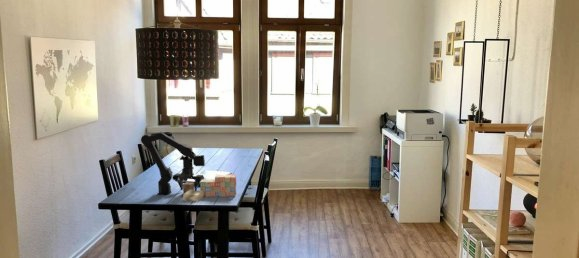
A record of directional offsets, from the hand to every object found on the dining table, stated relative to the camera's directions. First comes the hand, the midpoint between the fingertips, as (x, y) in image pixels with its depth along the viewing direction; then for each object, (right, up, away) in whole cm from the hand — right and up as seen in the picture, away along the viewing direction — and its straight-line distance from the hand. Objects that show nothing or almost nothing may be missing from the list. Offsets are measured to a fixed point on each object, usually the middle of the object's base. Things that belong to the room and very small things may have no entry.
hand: (188, 190), depth 282 cm
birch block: (+6, -3, -11) cm, 13 cm away
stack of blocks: (+19, -2, -4) cm, 20 cm away
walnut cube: (0, -1, 0) cm, 1 cm away
